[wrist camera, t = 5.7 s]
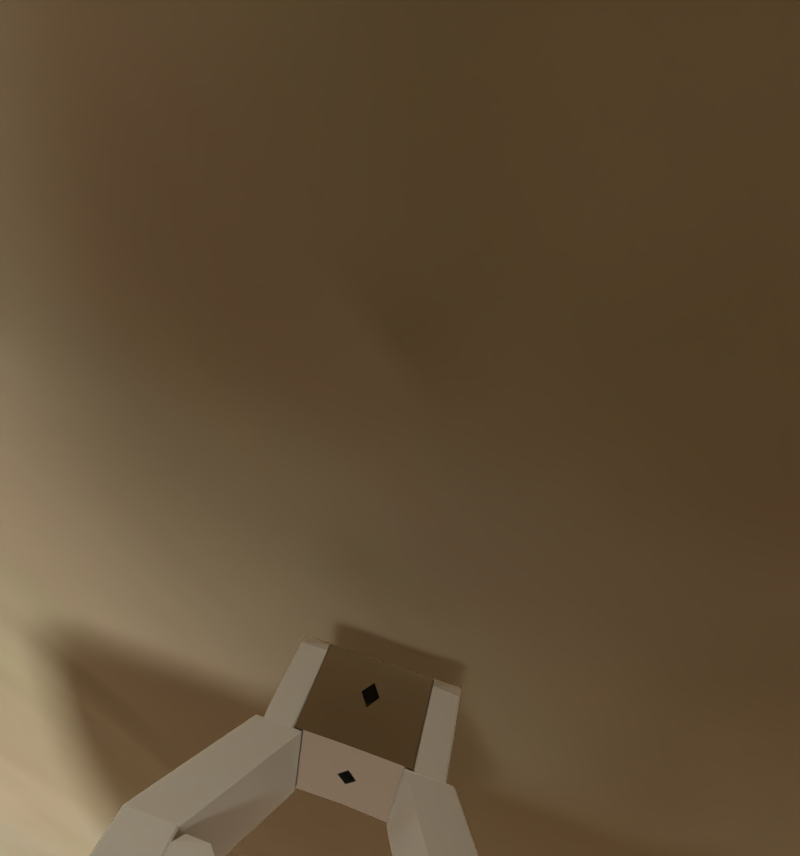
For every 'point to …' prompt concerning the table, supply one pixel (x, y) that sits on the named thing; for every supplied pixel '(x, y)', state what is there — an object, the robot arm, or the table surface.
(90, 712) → the table surface
